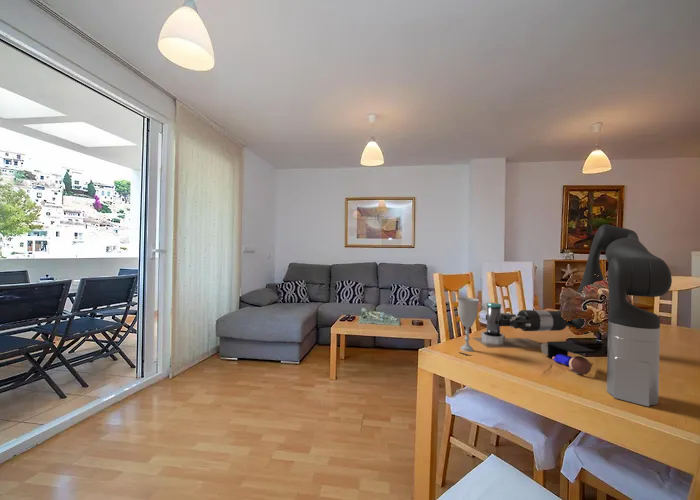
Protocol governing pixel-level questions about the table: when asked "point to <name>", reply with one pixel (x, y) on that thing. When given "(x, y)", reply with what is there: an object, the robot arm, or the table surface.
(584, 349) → the figurine character
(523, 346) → the grey flat rectangular plate
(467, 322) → the chalice
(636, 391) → the robot arm
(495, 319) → the dark jar with lid
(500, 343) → the collar
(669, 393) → the table surface
